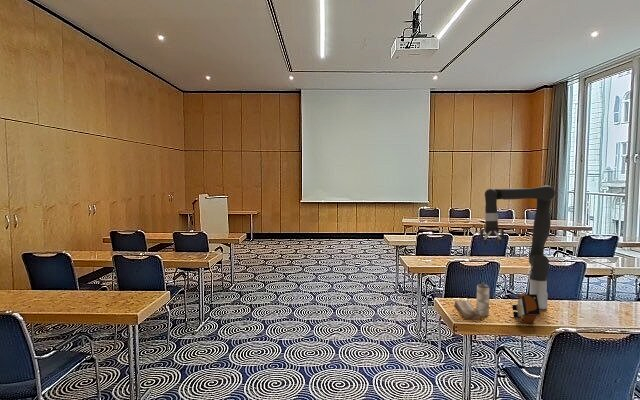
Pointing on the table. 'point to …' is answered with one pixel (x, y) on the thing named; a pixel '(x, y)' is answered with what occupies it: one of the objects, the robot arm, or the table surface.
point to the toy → (527, 308)
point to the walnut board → (467, 310)
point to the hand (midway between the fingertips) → (492, 245)
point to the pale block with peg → (482, 299)
